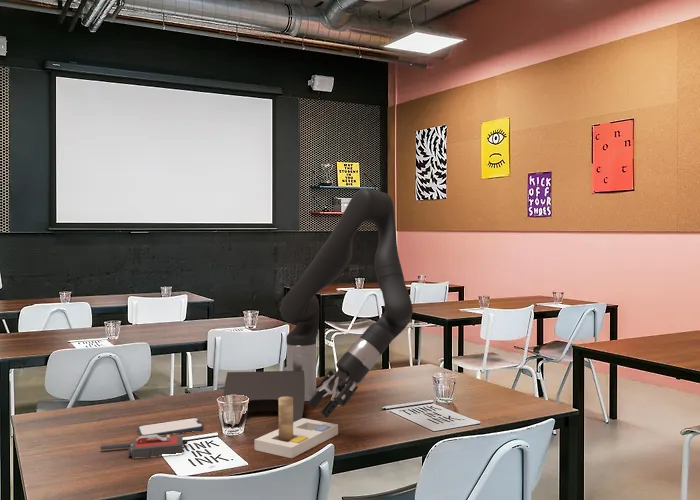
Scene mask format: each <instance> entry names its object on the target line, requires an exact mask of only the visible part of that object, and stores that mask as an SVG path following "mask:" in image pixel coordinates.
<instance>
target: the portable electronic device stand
mask: <svg viewBox="0 0 700 500" xmlns="http://www.w3.org/2000/svg"><path fill="white" fill-rule="evenodd" d="M223 388H224V389H223V395H222V397H223V396H226V395H230V394H237V395H244V396H247V397H248V398H249V403H248V412H247V413H256V412H260V411H262V412H263V411H268V412H269V411H270V412H278V413H279V398H280V397H285V396H288V397H293V422H295V421H298V420H300V419H302V418H303V416H304V415H303V414H304V410H305V409H304V408H305V407H304V406H305V401H304V398H305V379H304V371H284V370H279V371H278V370H275V371H274V370H273V371H272V370H271V371H268V370H267V371H265V370H264V371H228V372H226V378H225V382H224V387H223Z"/></svg>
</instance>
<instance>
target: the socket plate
mask: <svg viewBox="0 0 700 500" xmlns="http://www.w3.org/2000/svg"><path fill="white" fill-rule="evenodd" d="M338 435H339V424H336V423H332V422H325V421H321V420H314V419H309V418H303V417H302V419H300V420H298V421H295V422H293V439H292V440H290V441H289V442H284V441H280V440H279V428H278V429H275V430H273V431H271V432H268V433H265V434H264V435H261V436H260V437H258V438H255V439H254V450H255V451H257V452H262V453H267V454H271V455H275V456H278V457H285V458H287V459H288V458H289V459H294V458H296V457H297V456H299V455H301V454H303V453H306V452H307V451H309V450H311V449H312V448H315V447H316V446H319V445H320V444H322V443H324V442H327V441H329V440H330V439H331V438H334V437H335V436H338Z"/></svg>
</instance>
